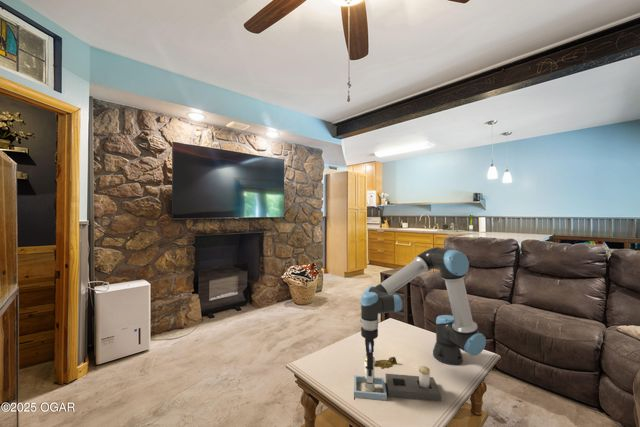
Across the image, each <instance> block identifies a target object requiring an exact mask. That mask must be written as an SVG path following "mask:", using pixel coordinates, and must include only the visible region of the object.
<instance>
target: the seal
mask: <svg viewBox="0 0 640 427" xmlns="http://www.w3.org/2000/svg"><path fill="white" fill-rule="evenodd" d="M393 365H397V366H398V362H397V358H396V356H389V358H388V359H378V360H375V361H374V368H381V370H384V369H389V368H391V367H393Z"/></svg>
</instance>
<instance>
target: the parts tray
mask: <svg viewBox="0 0 640 427" xmlns="http://www.w3.org/2000/svg"><path fill="white" fill-rule="evenodd" d="M353 377H354V378H353V400H354V401H355V400H356V399H367V400H377V401H387V399H388V397H387V396H388V392H387V386H386V380H385V378H384V377H378V376H374V377H375V382H374V385H375V384H379V385H381V387H382V392H377V391H373V392H367V391H366V390H365V391H364V390H357V383H364V384H365V375H353Z"/></svg>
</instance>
